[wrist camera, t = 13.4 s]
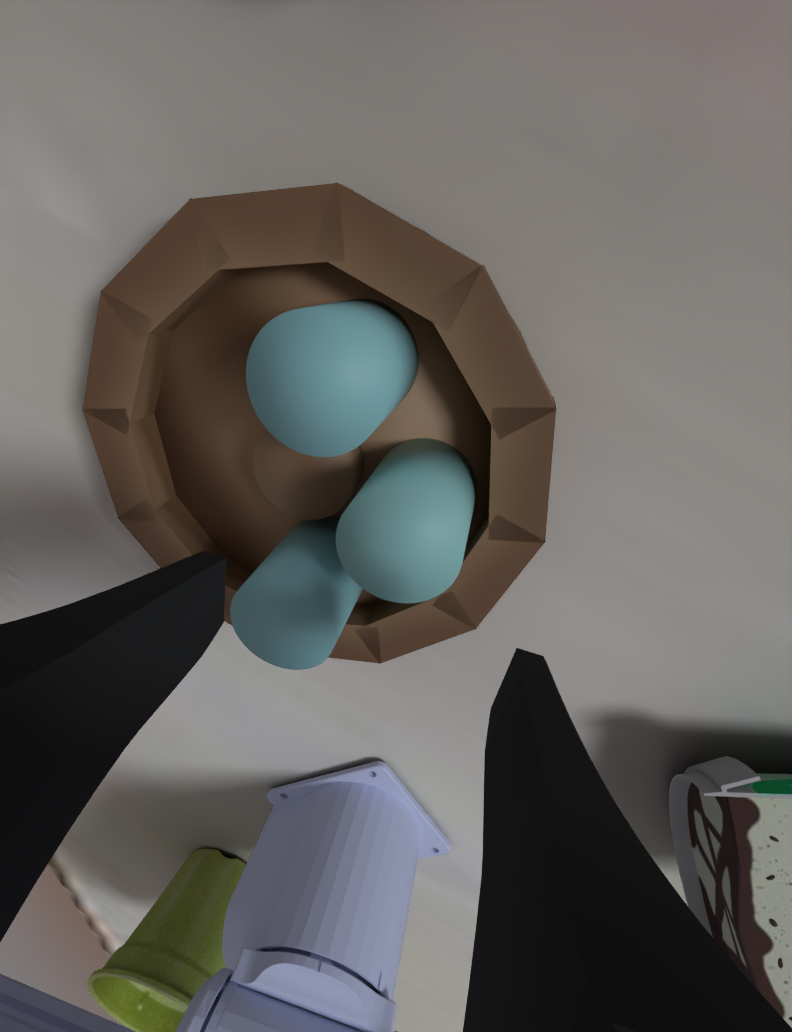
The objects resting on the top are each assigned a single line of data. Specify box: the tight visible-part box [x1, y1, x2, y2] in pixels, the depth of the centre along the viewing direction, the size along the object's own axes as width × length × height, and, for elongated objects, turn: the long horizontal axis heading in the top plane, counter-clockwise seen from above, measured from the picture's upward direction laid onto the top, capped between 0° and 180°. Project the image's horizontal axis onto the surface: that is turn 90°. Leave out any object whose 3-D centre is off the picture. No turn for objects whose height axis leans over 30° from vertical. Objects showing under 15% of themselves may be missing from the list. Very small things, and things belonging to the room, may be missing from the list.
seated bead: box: [230, 516, 363, 670], centre depth 20 cm, size 4×4×5 cm
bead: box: [246, 298, 419, 457], centre depth 16 cm, size 4×4×5 cm
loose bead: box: [336, 438, 477, 603], centre depth 17 cm, size 4×4×5 cm
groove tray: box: [83, 183, 556, 663], centre depth 20 cm, size 18×18×2 cm
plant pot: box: [87, 849, 246, 1032], centre depth 35 cm, size 9×9×9 cm
